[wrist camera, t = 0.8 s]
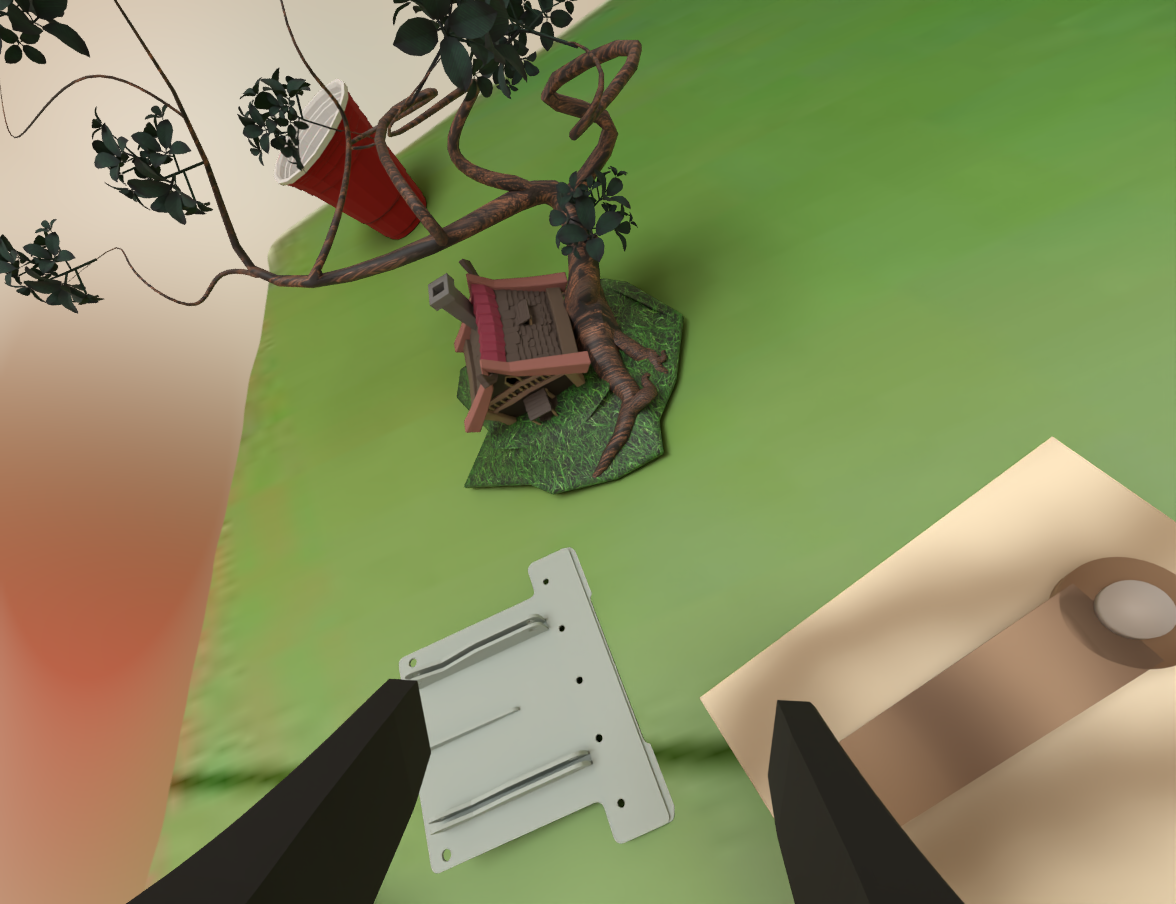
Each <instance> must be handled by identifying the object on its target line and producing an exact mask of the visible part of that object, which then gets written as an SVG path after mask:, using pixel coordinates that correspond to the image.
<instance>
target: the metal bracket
mask: <svg viewBox="0 0 1176 904" xmlns="http://www.w3.org/2000/svg"><path fill="white" fill-rule="evenodd" d="M528 573H529V576H530V579H531V582H532V585H533V589H534V595H533V597H531V598H530V599H528V600H526V601H523V602H521V603H519V604H517V605H515V606H513V607H510V608H508V609H506V610H504V611H502V612H500V613H498V614H495V615H493V616H491V617H489V618H487V619H485V620H482V621H480V622H478V623H476V624H474V625H472V626H470V627H467V628H465V629H463V630H461V631H459V632H457V633H454V634H452V635H450V636H448V637H446V638H444V639H442V640H439V641H437V642H435V643H433V644H431V645H429V646H426V647H424V648H422V649H420V650H418V651H416V652H414V653H411V654H409V655H407V656H405V657H403V658H402V659H401V660H400V662H399V670H400V676H401V680H417V681H418V686H419V691H420V697H421V702H422V707H423V712H424V717H425V723H426V728H427V733H428V738H429V743H430V749H431V755H430V759H429V762H428V765H427V769H426V772H425V775H424V779H423V782H422V785H421V788H420V792H419V794H420V800H421V807H422V813H423V819H424V825H425V831H426V838H427V844H428V850H429V856H430V863H431V868H432V870H433V872H435V873H440V872H443V871H445V870H447V869H449V868H451V867H454V866H456V865H458V864H460V863H463V862H465V861H467V860H469V859H471V858H474V857H476V856H478V855H480V854H482V853H485V852H487V851H489V850H491V849H493V848H496V847H498V846H500V845H502V844H505V843H507V842H509V841H511V840H513V839H516V838H518V837H520V836H522V835H524V834H527V833H529V832H531V831H533V830H536V829H538V828H540V827H542V826H544V825H547V824H549V823H551V822H553V821H555V820H558V819H560V818H562V817H564V816H567V815H569V814H571V813H573V812H575V811H578V810H580V809H582V808H584V807H586V806H589V805H591V804H593V803H595V802H599V803H601V804H602V805H603V806H604V809H605V812H606V815H607V818H608V821H609V824H610V827H611V830H612V833H613V836H614V839H615V841H617V842H618V843H625V842H627V841H629V840H632V839H634V838H636V837H638V836H641V835H643V834H645V833H647V832H649V831H652V830H654V829H656V828H658V827H661V826H663V825H665V824H667V823H669V822H671V821H672V820H673V818H674V804H673V801H672V799H671V796H670V794H669V791H668V788H667V786H666V783H665V781H664V778H663V776H662V773H661V770H660V768H659V765H658V763H657V760H656V758H655V755H654V752H653V750H652V747H651V745H650V744H648V743H646V742H645V741H644V739H643V737H642V734H641V731H640V729H639V726H638V724H637V721H636V718H635V716H634V713H633V710H632V708H631V705H630V703H629V700H628V697H627V695H626V692H625V689H624V687H623V684H622V682H621V679H620V676H619V674H618V671H617V668H616V666H615V663H614V660H613V658H612V655H611V653H610V650H609V647H608V645H607V642H606V639H605V637H604V634H603V632H602V629H601V626H600V624H599V621H598V618H597V616H596V613H595V611H594V608H593V605H592V603H591V599H590V597H591V594H592V593H591V590H590V588H589V585H588V583H587V580H586V578H585V575H584V572H583V570H582V567H581V565H580V562H579V560H578V557H577V554H576V552H575V550H573V549H572V548H563V549H561V550H559V551H556V552H554V553H552V554H550V555H548V556H546V557H544V558H541V559H539V560H537V561H535V562H533V563H531V564H530V566H529V568H528ZM546 579H548V580H549V583H548V584H547V585H545V584H544V581H545V580H546ZM561 626H565V630H564V631H563V632H561V631H560V627H561ZM413 659H416V660H417V664H416V666H414V667H411V665H410V663H411V661H412V660H413ZM579 677H582V679H583V681H582V683H581V684H578V683H577V679H578V678H579ZM598 734H601V735H602V737H603V739H602V741H601V742H597V740H596V737H597V735H598ZM619 799H623V800H624V801H625V805H624V807H623V808H621V807H619V805H618V800H619ZM446 849H449V850H450V851H451V858H450V860H449V861H446V860H445V859H444V857H443V853H444V851H445V850H446Z"/></svg>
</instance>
